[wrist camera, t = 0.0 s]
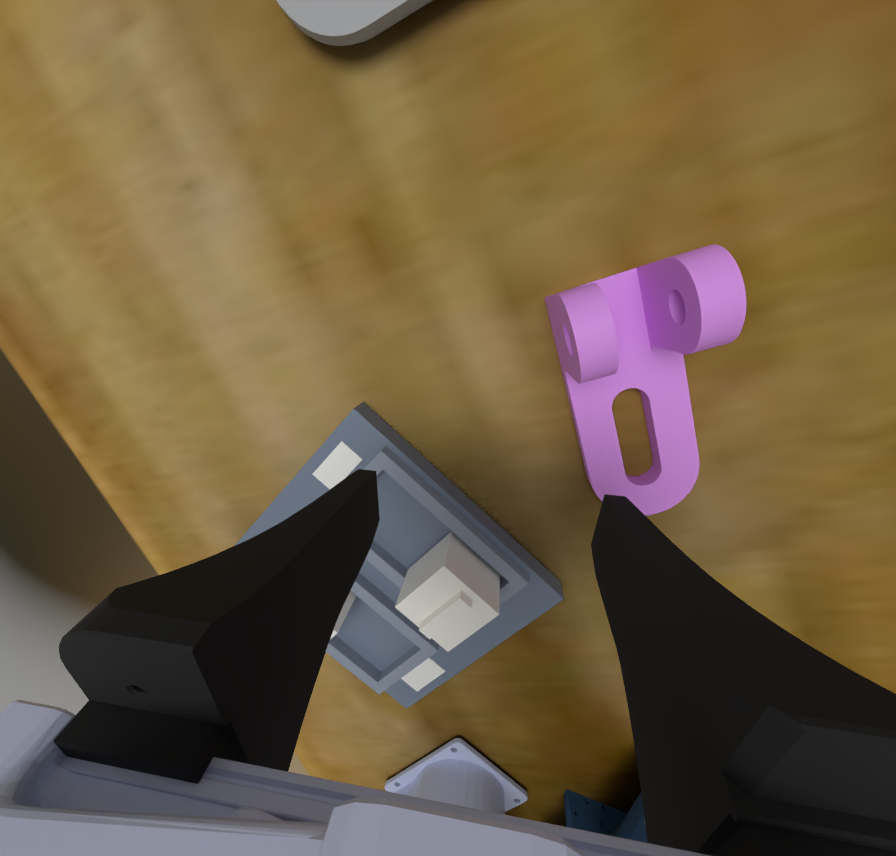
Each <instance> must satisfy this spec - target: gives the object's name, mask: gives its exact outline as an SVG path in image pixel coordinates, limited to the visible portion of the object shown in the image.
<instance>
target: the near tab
mask: <svg viewBox="0 0 896 856" xmlns="http://www.w3.org/2000/svg"><path fill="white" fill-rule="evenodd" d="M395 608H396V609H397V610H399V611H400V612H401V613H402V614H403V615H405V616H406V617H407V618H408V619H409V620H411V621H412V622H413V623H414V624H415V625H417V626H418V627H419V631H420V632H421V633H423V634H424V635H425V636H426V637H427V638H429V639H431V638H432V639H433V640H434V641H436V642H437V643H438V644H439V645H440V646H441V647H443V648H444V649H445V650H446V651H447V652H449V651H450V650H452V649H453V648H454V647H456V646H457V645H458V644H460V643H461V642H462V641H464V640H465V639H467V638H468V637H469V636H471V635H472V634H473V633H475V632H476V631H478V630H479V629H480V628H482V627H483V626H484V625H486V624H487V623H488V622H490V621H491V620H493V619H494V618H495V617H497V616H498V615H499V609H500V574H499V573H498V572H497V571H496V570H495V569H493V568H492V567H491V566H490V565H489V564H488V563H487V562H486V561H484V560H483V559H482V558H481V557H480V556H479V555H478V554H477V553H475V552H474V551H473V550H472V549H471V548H470V547H469V546H468V545H466V544H465V543H464V542H463V541H462V540H461V539H460V538H459V537H458V536H456V535H455V534H454V533H453V532H452V531H451V532H450V533H449V534H448V535H447V536H446V537H444V538H443V539H442V540H441V541H440V542H439V543H438V544H436V545H435V546H434V547H433V548H432V549H431V550H430V551H428V552H427V553H426V554H425V555H424V556H423V557H421V558H420V559H419V560H418V561H417V562H416V563H415V564H413V565H412V566H411V567H410V568H409V569H408V571H407V574H406V577H405V579H404V582H403V585H402V588H401V591H400V593H399V596H398V599H397V602H396V605H395Z"/></svg>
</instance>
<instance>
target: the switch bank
mask: <svg viewBox="0 0 896 856" xmlns="http://www.w3.org/2000/svg"><path fill="white" fill-rule="evenodd" d="M358 469H363V470H373V471H376V476H377V489H378V503H379V517H380V521H379V524H378V527H377V530H376V533H375V537H374V540H373V543H372V545H371V548H370V550H369V552H368V555H367V557H366V559H365V561H364V563H363V565H362V568H361V570H360V572H359V574H358V576H357V578H356V580H355V582H354V584H353V586H352V588H351V591H352V592H353V593H354V594H355V595H356V598H355V600H354V602H353V604H352V606H351V608H350V610H349V612H348V614H347V616H346V618H345V620H344V621H343V623H342V625H341V627H340V629H339V631H338V633H337V634H336V635H335V636H334V637H333V638H331V639H330V641H329V644H328V646H327V649H326V652H327V653H328V654H329V655H330V656H332V657H333V658H334V659H335V660H337V661H338V662H339V663H340V664H342V665H343V666H344V667H345V668H347V669H348V670H349V671H350V672H352V673H353V674H354V675H355V676H357V677H358V678H359V679H360V680H362V681H363V682H364V683H365V684H367V685H368V686H369V687H370V688H372V689H373V690H374V691H375V692H377V693H378V694H380V693H382V692H383V691H385V692H386V693H388V694H389V695H390V696H391V697H393V698H394V699H395V700H396V701H398V702H399V703H400V704H401V705H403V706H404V707H405V708H406V709H407V708H408V707H410V706H411V705H413V704H414V703H416V702H417V701H418V700H420V699H421V698H423V697H424V696H426V695H427V694H428V693H430V692H431V691H433V690H434V689H436V688H437V687H439V686H440V685H441V684H443V683H444V682H446V681H447V680H449V679H450V678H451V677H453V676H454V675H456V674H457V673H459V672H460V671H461V670H463V669H464V668H466V667H467V666H469V665H470V664H471V663H473V662H474V661H476V660H477V659H479V658H480V657H482V656H483V655H484V654H486V653H487V652H489V651H490V650H492V649H493V648H494V647H496V646H497V645H499V644H500V643H502V642H503V641H504V640H506V639H507V638H509V637H510V636H512V635H513V634H515V633H516V632H517V631H519V630H520V629H522V628H523V627H525V626H526V625H527V624H529V623H530V622H532V621H533V620H535V619H536V618H537V617H539V616H540V615H542V614H543V613H545V612H546V611H547V610H549V609H550V608H552V607H553V606H555V605H556V604H558V603H559V602H560V601H562V600H563V599H564V596H563V592H562V587H561V582H560V580H558V579H557V578H556V577H555V576H554V575H553V574H552V573H551V572H550V571H549V570H547V569H546V568H545V567H544V566H543V565H542V564H541V563H540V562H539V561H538V560H537V559H535V558H534V557H533V556H532V555H531V554H530V553H529V552H528V551H527V550H526V549H524V548H523V547H522V546H521V545H520V544H519V543H518V542H517V541H516V540H515V539H513V538H512V537H511V536H510V535H509V534H508V533H507V532H506V531H505V530H504V529H503V528H501V527H500V526H499V525H498V524H497V523H496V522H495V521H494V520H493V519H492V518H490V517H489V516H488V515H487V514H486V513H485V512H484V511H483V510H482V509H481V508H479V507H478V506H477V505H476V504H475V503H474V502H473V501H472V500H471V499H470V498H468V497H467V496H466V495H465V494H464V493H463V492H462V491H461V490H460V489H459V488H458V487H456V486H455V485H454V484H453V483H452V482H451V481H450V480H449V479H448V478H447V477H445V476H444V475H443V474H442V473H441V472H440V471H439V470H438V469H437V468H436V467H434V466H433V465H432V464H431V463H430V462H429V461H428V460H427V459H426V458H425V457H424V456H422V455H421V454H420V453H419V452H418V451H417V450H416V449H415V448H414V447H413V446H411V445H410V444H409V443H408V442H407V441H406V440H405V439H404V438H403V437H402V436H400V435H399V434H398V433H397V432H396V431H395V430H394V429H393V428H392V427H391V426H389V425H388V424H387V423H386V422H385V421H384V420H383V419H382V418H381V417H380V416H379V415H377V414H376V413H375V412H374V411H373V410H372V409H371V408H370V407H369V406H368V405H366V404H365V403H364V402H363V403H361V404H360V405H358V406H357V407H355V408H354V409H353V410H352V411H351V412H350V413H349V415H348V416H347V417H346V418H345V419H344V420H343V422H342V423H341V424H340V425H339V426H338V427H337V428H336V430H335V431H334V432H333V433H332V434H331V435H330V436H329V438H328V439H327V440H326V441H325V442H324V443H323V445H322V446H321V447H320V448H319V449H318V450H317V451H316V453H315V454H314V455H313V456H312V457H311V458H310V459H309V461H308V462H307V463H306V464H305V465H304V466H303V468H302V469H301V470H300V471H299V472H298V473H297V474H296V476H295V477H294V478H293V479H292V480H291V481H290V482H289V484H288V485H287V486H286V487H285V488H284V489H283V491H282V492H281V493H280V494H279V495H278V496H277V497H276V499H275V500H274V501H273V502H272V503H271V504H270V505H269V507H268V508H267V509H266V510H265V511H264V512H263V514H262V515H261V516H260V517H259V518H258V519H257V520H256V522H255V523H254V524H253V525H252V526H251V527H250V528H249V530H248V531H247V532H246V533H245V534H244V535H243V537H242V538H241V539H240V540H239V541H238V542H237V543H236V545H238V544H240V543H242V542H244V541H246V540H249V539H251V538H253V537H255V536H257V535H258V534H260V533H262V532H264V531H266V530H268V529H270V528H272V527H273V526H275V525H277V524H279V523H280V522H282V521H284V520H285V519H287V518H289V517H290V516H292V515H293V514H295V513H296V512H298V511H299V510H301V509H302V508H304V507H305V506H307V505H309V504H310V503H312V502H313V501H315V500H316V499H317V498H319V497H320V496H322V495H323V494H324V493H326V492H327V491H329V490H330V489H331V488H333V487H334V486H335V485H337V484H338V483H340V482H341V481H342V480H344V479H345V478H346V477H348V476H349V475H350V474H352V473H353V472H355V471H356V470H358ZM451 531H452V532H453V533H454V534H455V535H456V536H458V537H459V538H460V539H461V540H462V541H463V542H464V543H465V544H466V545H468V546H469V547H470V548H471V549H472V550H473V551H474V552H475V553H477V554H478V555H479V556H480V557H481V558H482V559H483V560H484V561H486V562H487V563H488V564H489V565H490V566H491V567H492V568H493V569H495V570H496V571H497V572H498V573H499V574H500V609H499V615H498V616H497V617H495V618H494V619H493V620H491V621H490V622H488V623H487V624H486V625H484V626H483V627H482V628H480V629H479V630H478V631H476V632H475V633H473V634H472V635H471V636H469V637H468V638H467V639H465V640H464V641H462V642H461V643H460V644H458V645H457V646H456V647H454V648H453V649H452V650H450V651H449V652H447V651H446V650H445V649H444V648H443V647H441V646H440V645H439V644H438V643H437V642H436V641H434V640H433V639H432V638H431V639H429V638H427V637H426V636H425V635H424V634H423V633H421V632H420V631H419V627H418V626H417V625H415V624H414V623H413V622H412V621H411V620H409V619H408V618H407V617H406V616H405V615H403V614H402V613H401V612H400V611H399V610H397V609H396V608H395V605H396V602H397V599H398V596H399V593H400V591H401V588H402V585H403V582H404V579H405V577H406V574H407V571H408V569H409V568H410V567H411V566H412V565H413V564H415V563H416V562H417V561H418V560H419V559H420V558H421V557H423V556H424V555H425V554H426V553H427V552H428V551H430V550H431V549H432V548H433V547H434V546H435V545H436V544H438V543H439V542H440V541H441V540H442V539H443V538H444V537H446V536H447V535H448V534H449V533H450V532H451Z"/></svg>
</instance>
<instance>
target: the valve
mask: <svg viewBox="0 0 896 856" xmlns="http://www.w3.org/2000/svg"><path fill="white" fill-rule="evenodd" d="M564 805H565V817H566V827H569V828H574V829H579V830H584V831H589V832H594V833H599V834H605V835H610V836H615V837H620V838H625V839H630V840H635V841H640V842H645V843H647V835H646V827H645V818H644V810H643V802H642V794H641V793H640V794H639V796H638V797H637V799H636V801H635V802H634V804H633V805H632V807H631V809H630V810H629V812H628V813H625V812H622V811H620V810H617V809H615V808H612V807H610V806H607V805H605V804H602V803H600V802H598V801H595V800H593V799H590V798H588V797H585V796H583V795H580V794H578V793H575V792H573V791H570V790H568V789H566V791H565V793H564Z"/></svg>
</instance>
